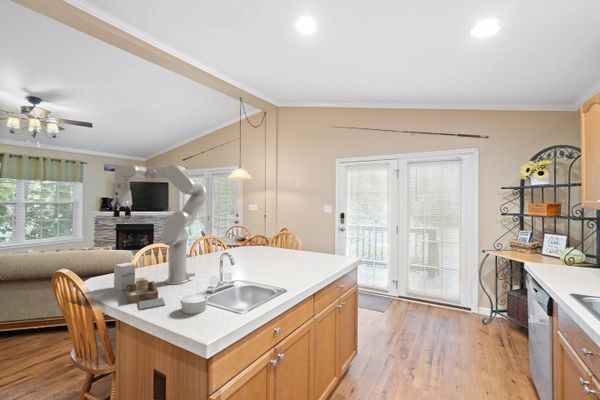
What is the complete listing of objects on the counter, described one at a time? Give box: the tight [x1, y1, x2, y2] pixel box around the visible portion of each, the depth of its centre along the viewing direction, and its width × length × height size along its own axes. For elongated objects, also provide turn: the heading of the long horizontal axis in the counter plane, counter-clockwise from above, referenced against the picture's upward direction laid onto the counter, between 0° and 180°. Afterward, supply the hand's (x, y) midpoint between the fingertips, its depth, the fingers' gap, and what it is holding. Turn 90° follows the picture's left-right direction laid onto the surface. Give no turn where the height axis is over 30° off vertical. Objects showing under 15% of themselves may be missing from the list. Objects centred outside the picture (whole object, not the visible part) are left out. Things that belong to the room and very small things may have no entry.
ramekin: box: [179, 293, 209, 315], centre depth 124 cm, size 11×11×5 cm
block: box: [135, 276, 149, 294], centre depth 143 cm, size 5×5×8 cm
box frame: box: [126, 280, 159, 305], centre depth 143 cm, size 12×20×4 cm, turn 32°
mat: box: [137, 297, 166, 311], centre depth 131 cm, size 10×10×1 cm
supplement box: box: [113, 262, 136, 291], centre depth 154 cm, size 7×7×13 cm
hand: (122, 216), depth 167 cm, fingers open, 9 cm apart
